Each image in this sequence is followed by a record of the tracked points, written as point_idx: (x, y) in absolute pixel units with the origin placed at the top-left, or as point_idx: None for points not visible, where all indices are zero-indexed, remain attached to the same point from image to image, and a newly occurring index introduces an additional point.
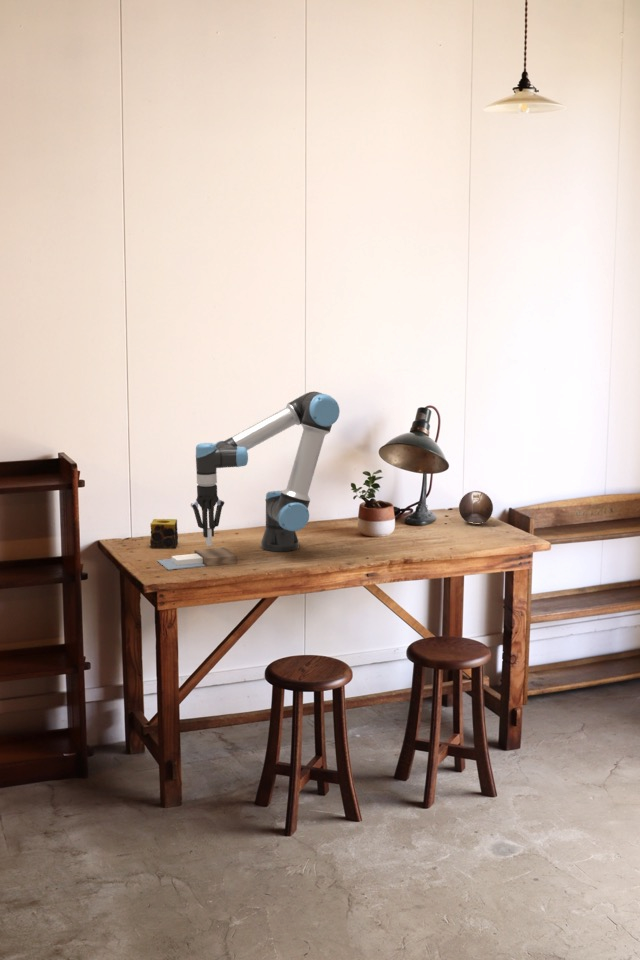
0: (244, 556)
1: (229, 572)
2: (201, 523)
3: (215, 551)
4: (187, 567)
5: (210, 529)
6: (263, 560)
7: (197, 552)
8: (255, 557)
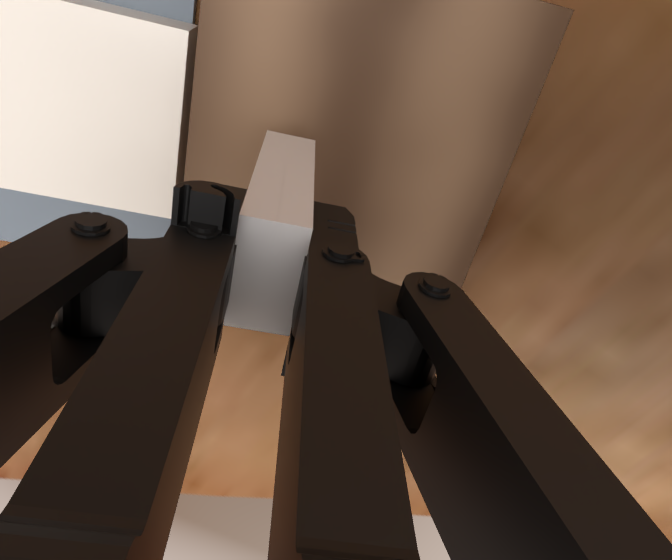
0: (622, 168)
1: (254, 439)
2: (61, 382)
3: (380, 124)
4: (11, 240)
5: (272, 329)
6: (621, 332)
7: (198, 29)
8: (654, 240)
